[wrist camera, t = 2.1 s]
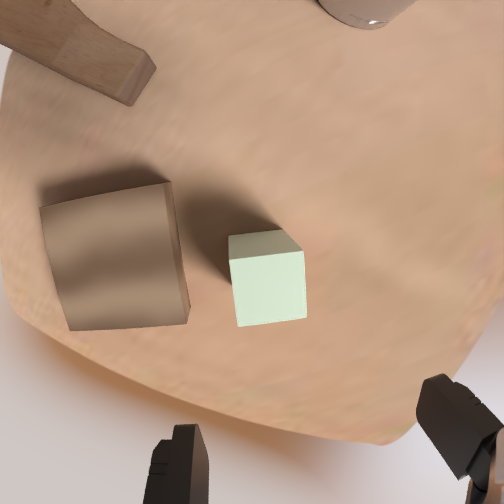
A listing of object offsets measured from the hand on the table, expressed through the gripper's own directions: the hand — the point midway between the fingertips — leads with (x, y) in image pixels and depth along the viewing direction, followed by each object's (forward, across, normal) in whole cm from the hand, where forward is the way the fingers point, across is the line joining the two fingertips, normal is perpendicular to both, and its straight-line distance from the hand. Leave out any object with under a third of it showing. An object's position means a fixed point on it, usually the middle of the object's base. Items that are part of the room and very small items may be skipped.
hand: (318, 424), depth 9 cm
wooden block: (+21, +12, -20) cm, 31 cm away
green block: (+21, 0, 0) cm, 21 cm away
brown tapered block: (+21, +13, -2) cm, 25 cm away
